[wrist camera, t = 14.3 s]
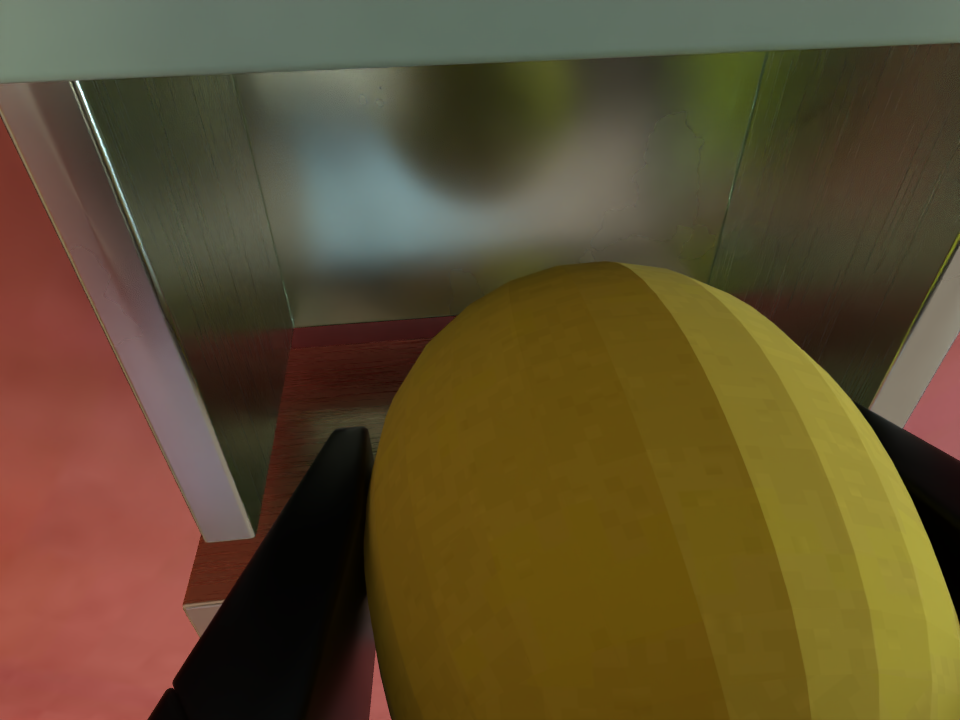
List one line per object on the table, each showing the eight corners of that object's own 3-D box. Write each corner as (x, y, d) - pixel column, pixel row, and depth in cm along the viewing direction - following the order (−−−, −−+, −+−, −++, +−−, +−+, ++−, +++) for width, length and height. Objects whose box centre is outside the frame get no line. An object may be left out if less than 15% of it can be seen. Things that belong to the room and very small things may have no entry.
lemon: (428, 472, 12) (474, 1126, 6) (314, 217, 9) (135, 1182, 2) (715, 401, 12) (1076, 1014, 6) (718, 105, 8) (1707, 889, 2)
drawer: (683, 476, 21) (784, 689, 16) (298, 515, 20) (268, 758, 14) (945, -413, 9) (1766, -784, 4) (5, -436, 8) (-770, -1007, 3)
